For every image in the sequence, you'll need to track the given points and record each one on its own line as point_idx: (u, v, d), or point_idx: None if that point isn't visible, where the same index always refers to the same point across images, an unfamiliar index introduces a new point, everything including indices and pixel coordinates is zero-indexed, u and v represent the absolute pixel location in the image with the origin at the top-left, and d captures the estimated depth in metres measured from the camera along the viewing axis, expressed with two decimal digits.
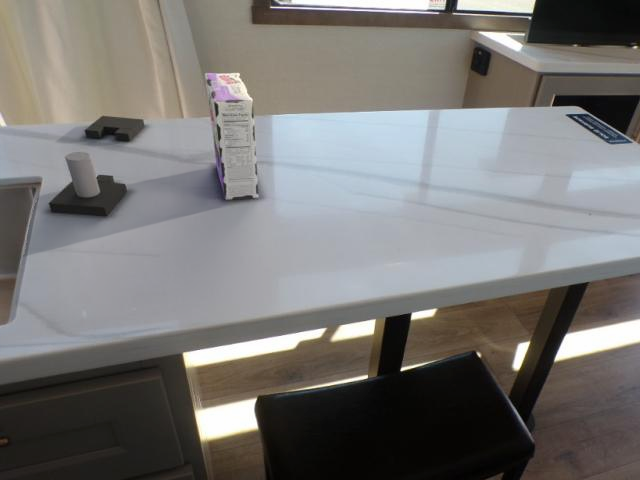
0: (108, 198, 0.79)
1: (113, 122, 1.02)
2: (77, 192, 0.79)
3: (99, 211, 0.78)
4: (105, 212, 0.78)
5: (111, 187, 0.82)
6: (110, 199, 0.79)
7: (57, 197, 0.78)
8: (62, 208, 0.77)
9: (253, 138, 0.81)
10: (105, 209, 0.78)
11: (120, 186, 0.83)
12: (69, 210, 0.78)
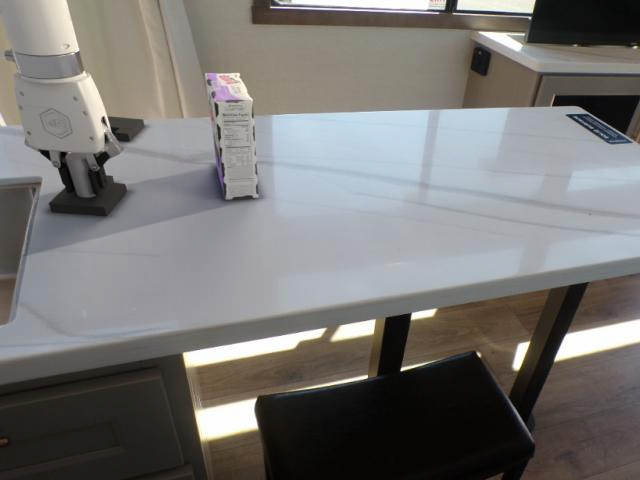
0: (108, 198, 0.79)
1: (113, 122, 1.02)
2: (77, 192, 0.79)
3: (99, 211, 0.78)
4: (105, 212, 0.78)
5: (111, 187, 0.82)
6: (110, 199, 0.79)
7: (57, 197, 0.78)
8: (62, 208, 0.77)
9: (253, 138, 0.81)
10: (105, 209, 0.78)
11: (120, 186, 0.83)
12: (69, 210, 0.78)
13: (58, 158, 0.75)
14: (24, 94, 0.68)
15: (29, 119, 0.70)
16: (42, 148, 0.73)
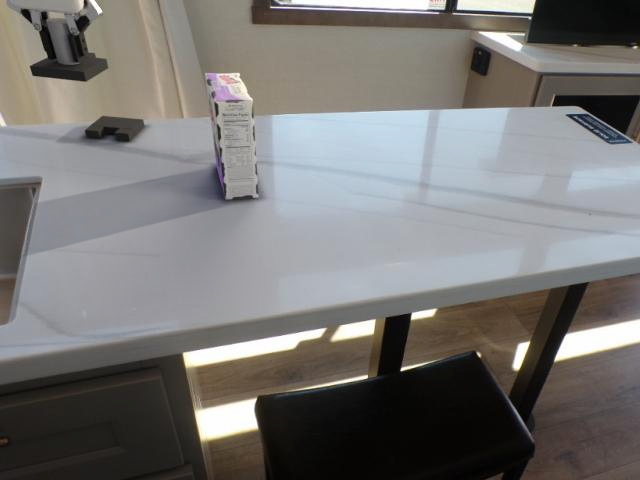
0: (88, 66, 0.81)
1: (113, 122, 1.02)
2: (58, 59, 0.81)
3: (79, 76, 0.80)
4: (84, 77, 0.80)
5: (92, 60, 0.84)
6: (90, 67, 0.81)
7: (39, 63, 0.80)
8: (43, 72, 0.79)
9: (253, 138, 0.81)
10: (84, 74, 0.80)
11: (101, 60, 0.85)
12: (50, 75, 0.80)
13: (39, 20, 0.77)
14: None
15: None
16: (23, 6, 0.75)
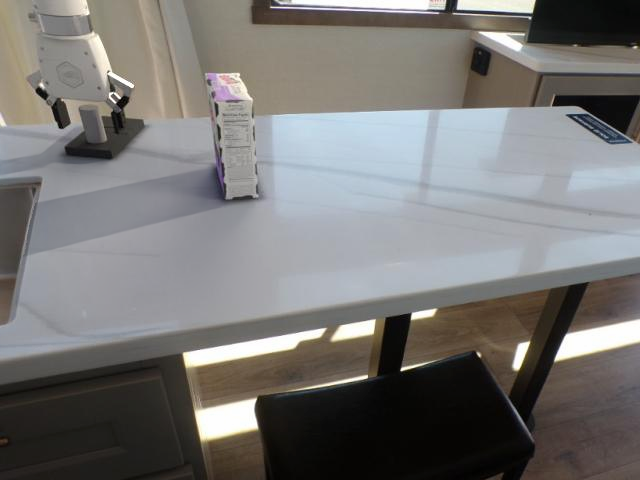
0: (113, 144, 0.94)
1: None
2: (88, 139, 0.94)
3: (106, 154, 0.93)
4: (111, 155, 0.93)
5: (116, 136, 0.97)
6: (115, 145, 0.94)
7: (71, 143, 0.93)
8: (75, 151, 0.92)
9: (253, 138, 0.81)
10: (111, 152, 0.93)
11: (124, 136, 0.98)
12: (81, 154, 0.92)
13: (51, 97, 0.89)
14: (44, 49, 0.83)
15: (48, 71, 0.85)
16: (58, 96, 0.88)
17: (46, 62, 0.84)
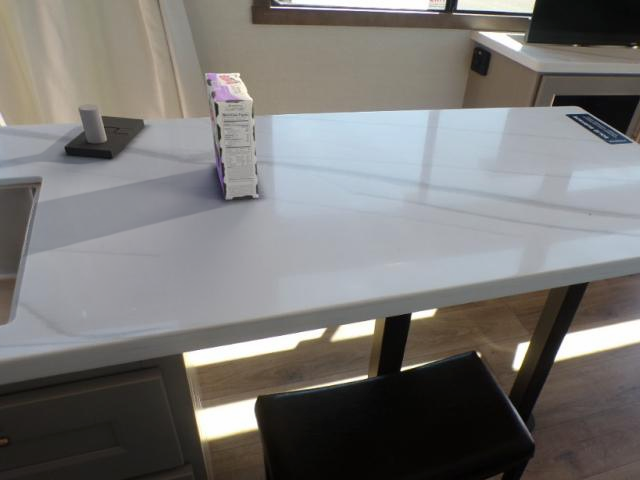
0: (113, 144, 0.94)
1: (113, 122, 1.02)
2: (88, 139, 0.94)
3: (106, 154, 0.93)
4: (111, 155, 0.93)
5: (116, 136, 0.97)
6: (115, 145, 0.94)
7: (71, 143, 0.93)
8: (75, 151, 0.92)
9: (253, 138, 0.81)
10: (111, 152, 0.93)
11: (124, 136, 0.98)
12: (81, 154, 0.92)
13: None
14: None
15: None
16: None
17: None
